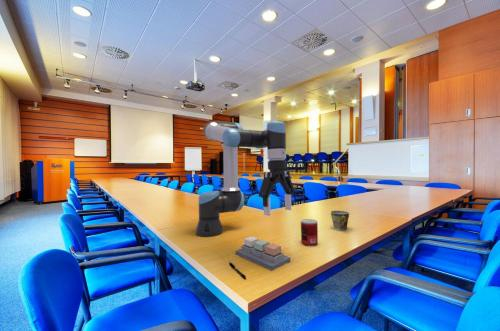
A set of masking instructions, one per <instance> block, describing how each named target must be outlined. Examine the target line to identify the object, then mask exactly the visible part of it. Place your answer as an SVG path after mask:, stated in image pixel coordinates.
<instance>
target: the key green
mask: <svg viewBox="0 0 500 331" xmlns="http://www.w3.org/2000/svg"><path fill="white" fill-rule="evenodd" d="M269 244H270V242H269V241H266V240H264V239H261V240H260V239H259V241H256V242H254V248H255V249H257V250H260V251H264V250H265V246H267V245H269Z"/></svg>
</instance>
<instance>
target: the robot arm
mask: <svg viewBox="0 0 500 331" xmlns="http://www.w3.org/2000/svg"><path fill="white" fill-rule="evenodd" d="M202 131H203V135H204V137H205V138H206V139H207V140H210V141H213V142H220V145H221V147H222V148H223V150H222V151H223V186H222V188H221V190H220V191H221V192H219V190H214V191H213V190H211V191H205V192H203V193H200V194H199V195H198V201H197V202H198V221H197V225H196V229H195V235H196V236H197V237H198V236H199V237H215V236H219V235H221V234H223V231H224V228H223V225H222V223H221V219H220V214H224V213H226V214H227V213H234V212H239V211H241V210H242V209H243V208H244V205H245V196H244V192H242V191H241V188H240V187H239V176H238V175H239V173H238V172H239V168H238V167H239V166H238V165H239V163H238V161H239V159H238V158H239V157H238V156H239V155H238V152H239V151H238V150H239V149H238V148H255V149H265V148H267V154H266V155H267V170H269V171H267V172H266V171H264V172H263V178H262V182H261V185H260V187H259V192H258V197H259V198H262V206H263V215H264V216H269V217H270V216H271V197H270V195H271V193H272V191H273V189H274V186H275V185H277V184H280V186H281V187H282V188H283V190H284V192H285V194H284V210H287V211H292V195H294V193H295V188H294V185H293V182H292V178H291V176H290V174H291V173H290V171H288V170H287V160H286V159H287V152H286V150H287V148H286V146H287V142H286V141H287V138H286V137H287V136H286V135H287V134H286V133H287V131H286V124H285V122H283V121H280V120H278V121H277V120H273V121H270V122H268V123H267V124H266V129H264V130H255V129H253V130H252V129H244V128H243V126H242V125H241V123H239V122H234V121H232V122H231V121H220V120H213V121H209V122H207V123H206V124H205V125H204V127H203V130H202ZM285 170H287V171H285Z"/></svg>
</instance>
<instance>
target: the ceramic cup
mask: <svg viewBox="0 0 500 331" xmlns="http://www.w3.org/2000/svg"><path fill="white" fill-rule="evenodd" d="M349 217H350V212H348V211H346V210H331V211H330V218H331V220H332V226H333V229H334V231H335V230H336V231H339V232H340V231H341V232H345V231H347V228H348V223H349Z"/></svg>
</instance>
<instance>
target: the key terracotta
mask: <svg viewBox="0 0 500 331" xmlns="http://www.w3.org/2000/svg"><path fill="white" fill-rule="evenodd" d="M281 252H282V246H281V245H279V244H275V243H272V242H271V243H269V245H267V246H265V253H268V254H270V255H273V256H274V255H277V254H279V253H281Z"/></svg>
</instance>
